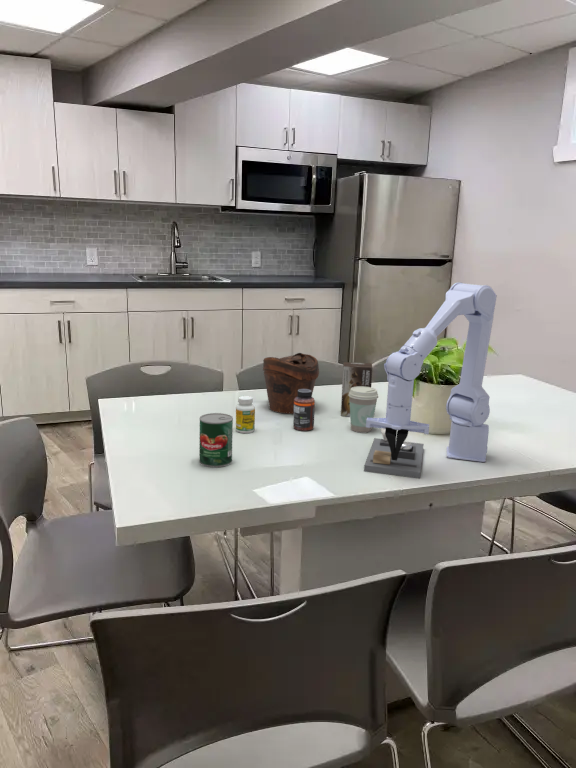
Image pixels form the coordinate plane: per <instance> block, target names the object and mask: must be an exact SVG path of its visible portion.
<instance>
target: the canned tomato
mask: <svg viewBox="0 0 576 768" xmlns="http://www.w3.org/2000/svg"><path fill="white" fill-rule="evenodd" d="M233 419H234V417H233V416H232V415H230V414H228V413H222V412H211V413H206V414H202V415H201V416H200V417H199V437H198V438H199V440H198V441H199V442H198V443H199V448H198V449H199V453H198V454H199V461H198V463H199V464H200V465H202V466H204V467H208V468H223V467H226V466H229V465H231V464H232V463H233V429H234V428H233V421H234V420H233Z"/></svg>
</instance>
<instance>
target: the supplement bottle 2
mask: <svg viewBox="0 0 576 768" xmlns="http://www.w3.org/2000/svg"><path fill="white" fill-rule="evenodd" d="M311 395H312V396H311ZM315 401H316V400H315V398H314V397H313V393H312V391H311V390H309V389H299V390H298V396H297V397H296V398H295V399H294V414H293V421H292V422H293V423H292V425H293V428H294V430H296V431H301V432H307V431H311V430H313V429H314V428H315V426H314V425H315V405H316V404H315Z"/></svg>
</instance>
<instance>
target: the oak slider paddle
mask: <svg viewBox="0 0 576 768" xmlns="http://www.w3.org/2000/svg"><path fill="white" fill-rule="evenodd" d="M390 462H391V452H385V451H377V450H375V452H374V455H373V463H380V464H388V465H390Z"/></svg>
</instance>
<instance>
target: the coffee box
mask: <svg viewBox="0 0 576 768" xmlns="http://www.w3.org/2000/svg"><path fill="white" fill-rule="evenodd" d="M372 381H373V364H372V362H371V363H370V362H354V361H352V362H349V361H348V362H347V361H343V365H342V382H341V383H342V385H341V403H340V416H341V417H350V399H349V392H350V389H351V388H352V387H357V386H364V387H371V388H372Z"/></svg>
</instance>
